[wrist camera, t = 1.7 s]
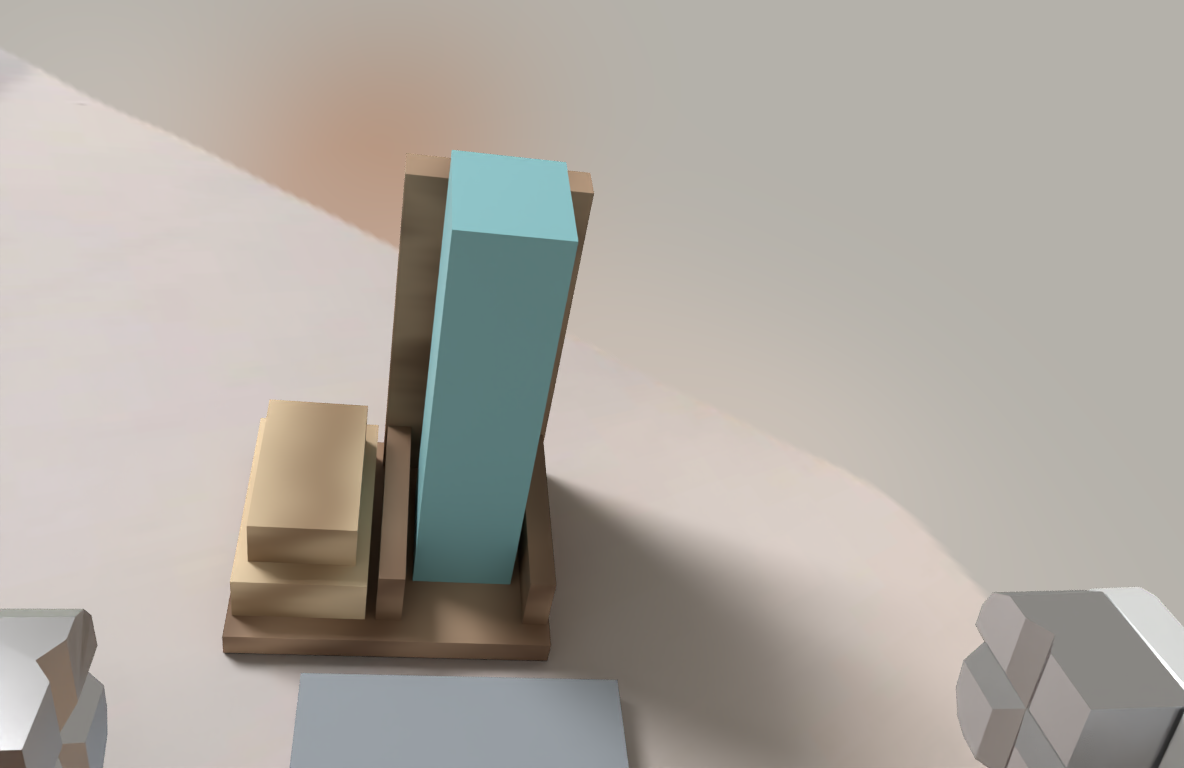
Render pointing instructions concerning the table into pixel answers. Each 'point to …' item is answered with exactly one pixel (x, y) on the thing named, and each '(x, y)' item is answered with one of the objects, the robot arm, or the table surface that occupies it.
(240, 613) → the lower oak offcut
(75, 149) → the table surface
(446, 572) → the tall teal block
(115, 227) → the table surface
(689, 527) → the table surface
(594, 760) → the slate mat
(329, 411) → the upper oak offcut
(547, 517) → the walnut rack
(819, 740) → the table surface
